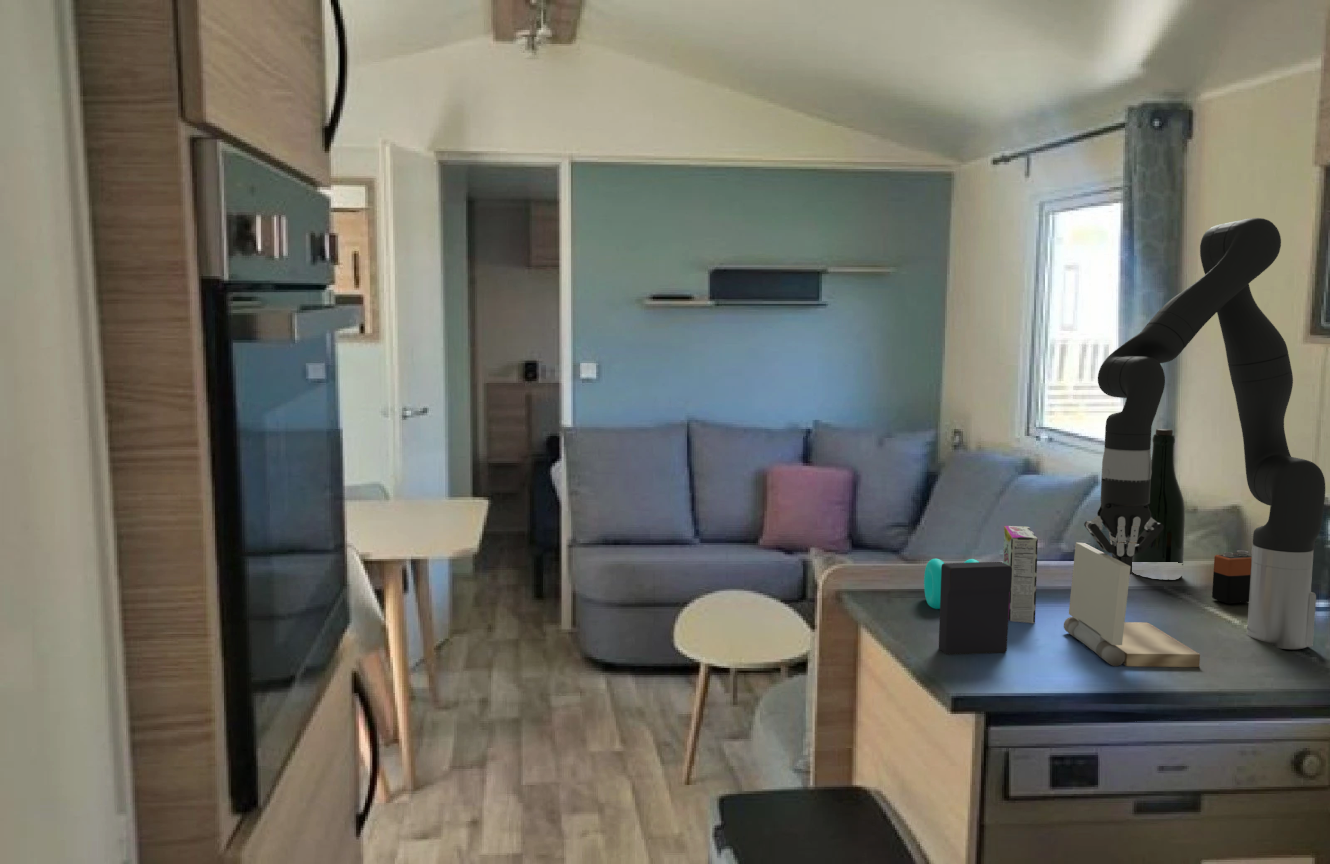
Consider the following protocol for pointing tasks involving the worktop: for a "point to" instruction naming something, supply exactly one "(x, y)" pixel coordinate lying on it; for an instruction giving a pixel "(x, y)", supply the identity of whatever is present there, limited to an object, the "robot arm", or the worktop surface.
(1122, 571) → the hinge leaf
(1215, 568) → the battery
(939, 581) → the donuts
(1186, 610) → the worktop surface
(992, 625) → the calculator
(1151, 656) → the fixed leaf
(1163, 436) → the wine bottle
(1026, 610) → the candy bar box
